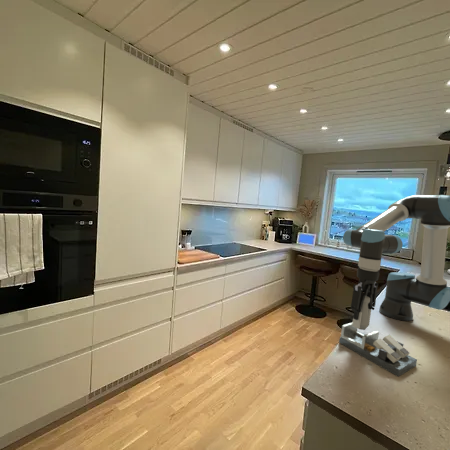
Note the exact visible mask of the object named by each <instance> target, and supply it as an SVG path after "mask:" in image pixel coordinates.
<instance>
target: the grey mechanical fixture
mask: <svg viewBox="0 0 450 450" xmlns="http://www.w3.org/2000/svg"><path fill="white" fill-rule="evenodd" d="M352 323H353V321H352V322H349V323H345V324H343V325H341V332H340V336H339V340H338V343H339V344H340V343H341V344H340V345H342V346H344V347H345V348H347V349H349V350H351V351H353V352H355V353H356V354H358V355H359V356H361V357H363V358H365V359H367V360H369V361H371V362H372V363H374V364H375V365H377V366H379V367H380V368H382V369H384V370H386V371H388V372H389V373H392V374H393V375H395V377H400V376H402V375H404V374H405V373H408V372H409V371H410V370H413V368H415V367H417V364H418V363H417V362H418V359H417V358H415V357H412V356H411V355H410V354H408V356H406V357H404V358H400V359H399V360H398V361H396V362H395V363H393V362H392V361H391V360H390V359H389V358H388V357H387V351H385V350H383V349H381V348H379V349H378V348H377V347H376V346H375V345H374V344H373V343H374V342H375V341H376V340H378V339H379V335H380V334H379V333H380V332H379V330H375V331H372V332H369V333H364V332H362V331H360V330H358V328H356V327H354V326H352ZM396 341H397V340H396ZM397 342H398V343H399V344H400V345H401V346H402V347H404V343H401V342H399V341H397ZM387 345H388V344H387ZM388 346H389V347H390V348H391V349H393V350H394V351H395V352H396V348H397V347H395V346H393V345H390V344H389V345H388Z"/></svg>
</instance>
